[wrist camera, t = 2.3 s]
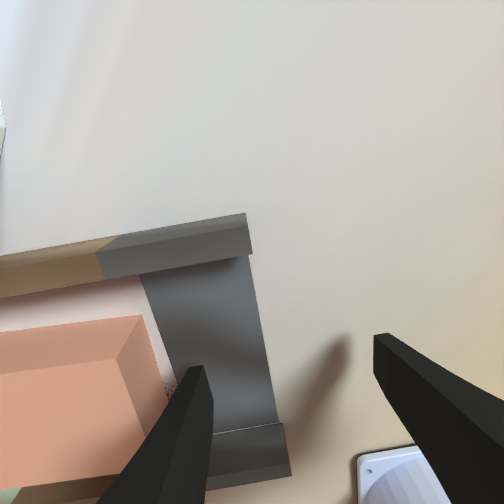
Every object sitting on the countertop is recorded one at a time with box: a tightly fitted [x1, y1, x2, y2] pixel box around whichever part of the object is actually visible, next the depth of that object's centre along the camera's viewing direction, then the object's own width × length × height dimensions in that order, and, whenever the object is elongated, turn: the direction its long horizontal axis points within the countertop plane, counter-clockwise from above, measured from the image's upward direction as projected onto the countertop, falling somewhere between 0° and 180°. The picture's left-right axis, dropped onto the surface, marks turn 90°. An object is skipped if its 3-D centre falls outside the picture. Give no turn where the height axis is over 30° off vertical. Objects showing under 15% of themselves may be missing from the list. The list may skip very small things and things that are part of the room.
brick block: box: [0, 314, 168, 490], centre depth 11 cm, size 6×7×3 cm
